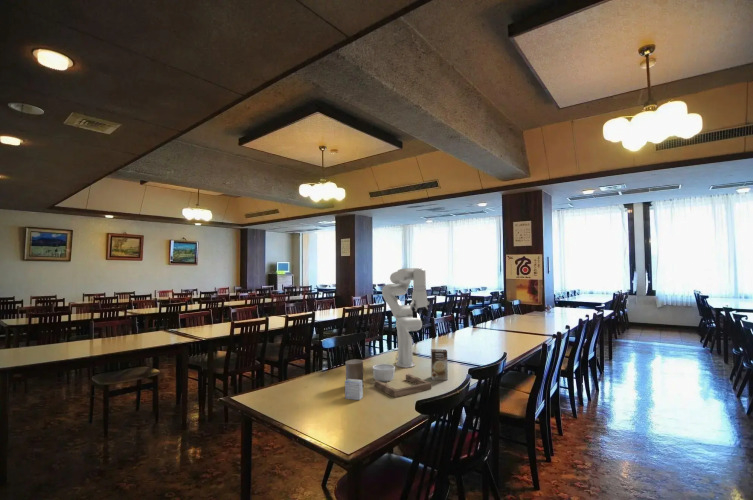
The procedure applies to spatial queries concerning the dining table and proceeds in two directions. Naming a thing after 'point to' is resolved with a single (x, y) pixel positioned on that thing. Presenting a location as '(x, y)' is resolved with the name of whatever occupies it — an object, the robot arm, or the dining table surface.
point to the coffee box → (439, 364)
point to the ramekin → (384, 372)
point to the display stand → (420, 386)
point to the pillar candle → (354, 369)
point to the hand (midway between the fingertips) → (420, 316)
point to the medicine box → (353, 389)
